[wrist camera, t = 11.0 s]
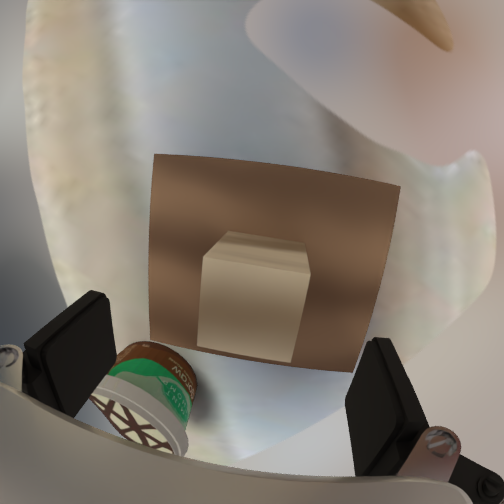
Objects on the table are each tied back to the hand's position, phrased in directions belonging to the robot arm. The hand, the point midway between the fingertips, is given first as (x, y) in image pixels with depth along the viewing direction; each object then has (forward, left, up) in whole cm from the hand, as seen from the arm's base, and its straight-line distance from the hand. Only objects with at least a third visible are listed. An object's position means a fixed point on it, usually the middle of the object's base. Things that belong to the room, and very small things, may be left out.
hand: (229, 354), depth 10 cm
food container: (+15, -8, -16) cm, 23 cm away
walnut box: (+1, 0, -16) cm, 16 cm away
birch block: (+1, 0, -11) cm, 11 cm away
